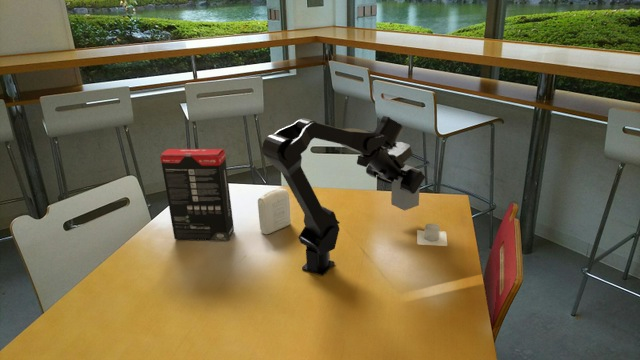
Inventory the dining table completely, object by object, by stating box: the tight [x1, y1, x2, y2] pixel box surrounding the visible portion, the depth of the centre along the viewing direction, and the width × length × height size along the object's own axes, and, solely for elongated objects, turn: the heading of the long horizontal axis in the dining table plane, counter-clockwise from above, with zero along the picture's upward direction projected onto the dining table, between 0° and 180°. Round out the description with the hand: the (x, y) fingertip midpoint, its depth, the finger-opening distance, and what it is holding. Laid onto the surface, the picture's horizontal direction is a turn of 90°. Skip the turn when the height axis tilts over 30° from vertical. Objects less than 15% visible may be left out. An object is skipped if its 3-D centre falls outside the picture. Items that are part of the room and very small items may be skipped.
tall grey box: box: [391, 164, 421, 212], centre depth 138 cm, size 6×6×11 cm
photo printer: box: [257, 188, 292, 235], centre depth 144 cm, size 10×4×12 cm, turn 134°
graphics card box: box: [159, 148, 235, 242], centre depth 138 cm, size 17×7×27 cm, turn 84°
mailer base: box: [416, 222, 448, 247], centre depth 133 cm, size 8×8×5 cm
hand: (408, 187), depth 139 cm, fingers closed on tall grey box, 6 cm apart
